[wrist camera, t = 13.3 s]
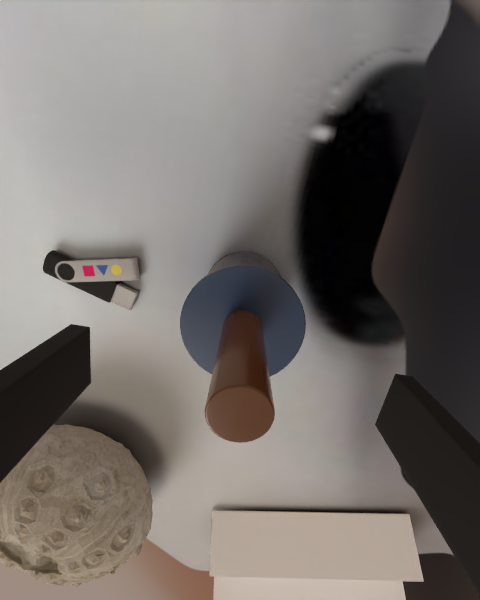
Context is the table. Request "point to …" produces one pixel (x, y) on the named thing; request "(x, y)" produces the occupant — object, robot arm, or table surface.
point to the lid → (242, 344)
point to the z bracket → (312, 555)
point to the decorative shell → (73, 507)
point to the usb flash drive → (97, 276)
